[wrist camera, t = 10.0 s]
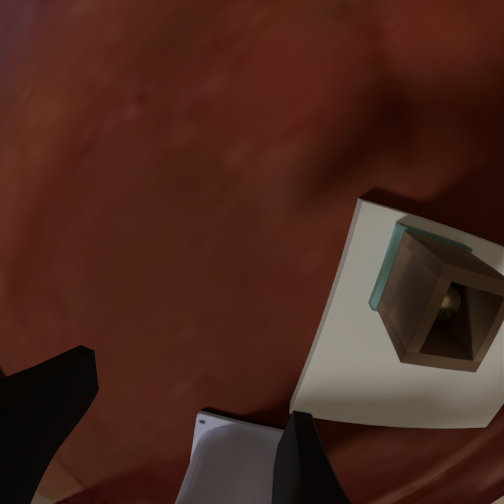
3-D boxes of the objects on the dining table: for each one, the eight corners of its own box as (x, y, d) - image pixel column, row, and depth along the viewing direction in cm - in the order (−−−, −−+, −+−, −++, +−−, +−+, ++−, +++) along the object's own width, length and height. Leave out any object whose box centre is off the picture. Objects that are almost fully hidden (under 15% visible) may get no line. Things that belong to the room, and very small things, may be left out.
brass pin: (425, 289, 16) (452, 322, 13) (402, 283, 16) (426, 317, 13) (434, 264, 16) (465, 292, 12) (412, 257, 16) (439, 285, 12)
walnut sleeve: (435, 317, 17) (476, 376, 11) (368, 302, 17) (394, 366, 11) (464, 244, 15) (522, 283, 10) (395, 221, 15) (442, 256, 10)
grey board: (481, 418, 20) (485, 427, 19) (289, 402, 21) (289, 413, 20) (560, 270, 15) (569, 276, 14) (358, 198, 17) (362, 201, 15)
